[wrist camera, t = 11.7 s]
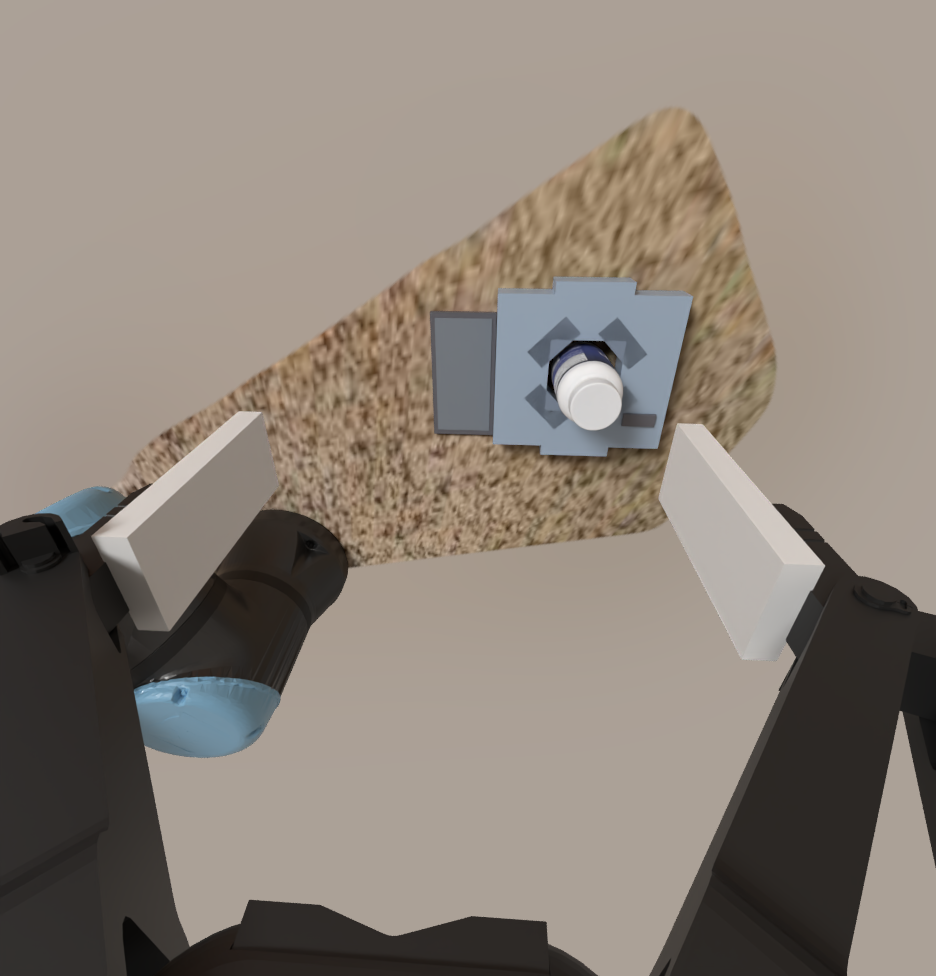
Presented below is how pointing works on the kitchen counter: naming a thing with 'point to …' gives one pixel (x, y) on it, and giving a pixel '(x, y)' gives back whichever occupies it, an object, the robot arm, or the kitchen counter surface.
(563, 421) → the dock
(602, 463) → the kitchen counter surface
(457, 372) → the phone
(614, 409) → the pill bottle
